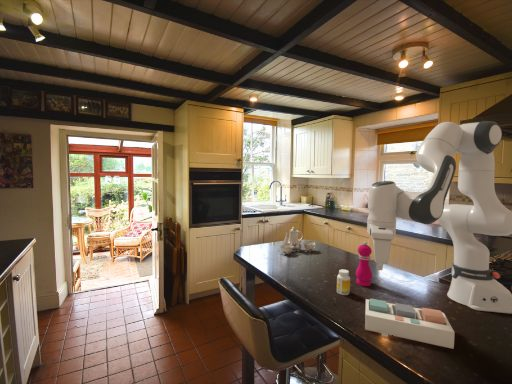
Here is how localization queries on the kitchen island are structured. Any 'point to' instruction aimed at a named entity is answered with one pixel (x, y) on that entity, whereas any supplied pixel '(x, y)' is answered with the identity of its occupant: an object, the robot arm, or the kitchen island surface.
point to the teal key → (378, 306)
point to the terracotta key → (433, 316)
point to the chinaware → (295, 242)
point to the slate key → (404, 310)
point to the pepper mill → (364, 266)
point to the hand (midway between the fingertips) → (379, 268)
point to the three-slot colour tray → (409, 326)
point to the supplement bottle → (343, 282)
